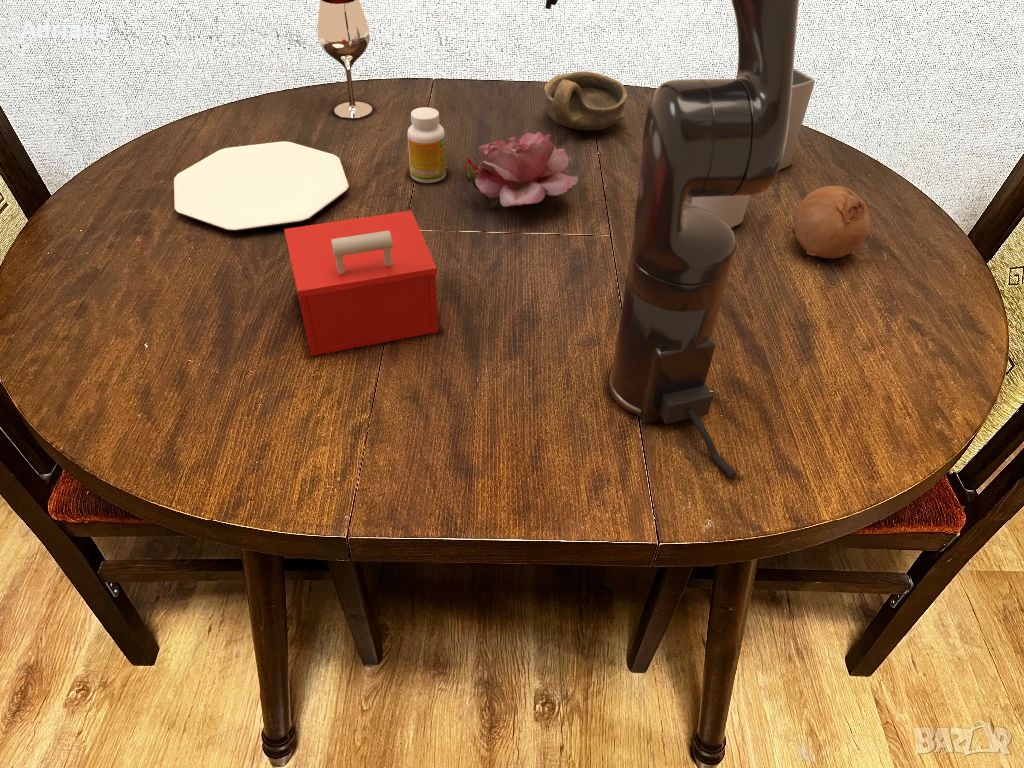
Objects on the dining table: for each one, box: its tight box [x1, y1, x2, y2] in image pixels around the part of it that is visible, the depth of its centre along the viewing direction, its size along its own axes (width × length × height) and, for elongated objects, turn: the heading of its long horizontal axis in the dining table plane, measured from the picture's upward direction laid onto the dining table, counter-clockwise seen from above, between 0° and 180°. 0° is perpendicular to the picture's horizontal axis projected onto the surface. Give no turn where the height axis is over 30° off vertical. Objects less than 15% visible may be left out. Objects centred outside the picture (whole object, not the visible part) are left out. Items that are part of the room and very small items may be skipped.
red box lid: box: [283, 210, 438, 297], centre depth 82 cm, size 12×15×5 cm
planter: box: [779, 68, 816, 171], centre depth 114 cm, size 16×8×19 cm, turn 164°
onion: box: [791, 185, 871, 259], centre depth 100 cm, size 10×9×10 cm
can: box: [690, 195, 750, 229], centre depth 104 cm, size 8×8×12 cm
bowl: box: [544, 70, 628, 131], centre depth 124 cm, size 14×18×10 cm
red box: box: [288, 253, 439, 357], centre depth 87 cm, size 11×15×9 cm
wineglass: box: [316, 0, 373, 120], centre depth 124 cm, size 8×8×18 cm
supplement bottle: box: [407, 106, 447, 184], centre depth 112 cm, size 5×5×10 cm
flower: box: [463, 131, 579, 210], centre depth 107 cm, size 15×15×10 cm
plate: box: [173, 140, 350, 232], centre depth 110 cm, size 24×24×2 cm
